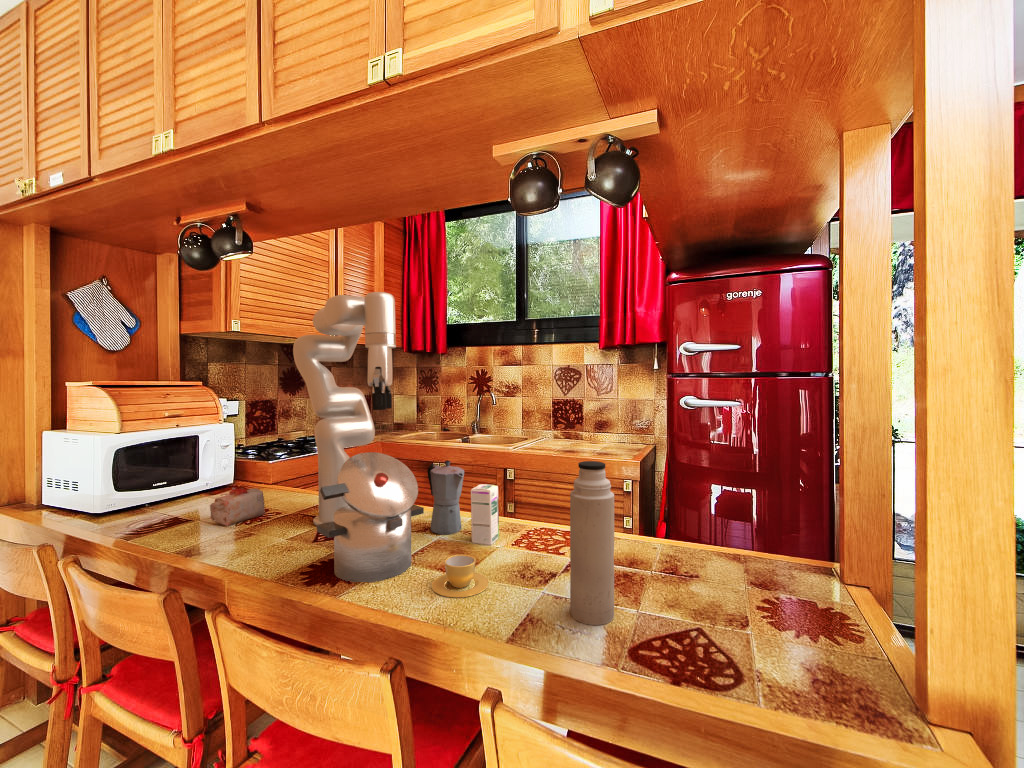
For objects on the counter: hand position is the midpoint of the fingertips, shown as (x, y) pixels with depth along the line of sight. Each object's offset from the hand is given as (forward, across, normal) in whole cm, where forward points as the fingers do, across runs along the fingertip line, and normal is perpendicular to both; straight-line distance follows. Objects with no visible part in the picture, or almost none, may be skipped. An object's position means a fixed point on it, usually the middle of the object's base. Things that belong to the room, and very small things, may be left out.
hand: (382, 409), depth 117 cm
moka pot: (+36, -14, +14) cm, 41 cm away
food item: (+34, -31, -49) cm, 67 cm away
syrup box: (+36, -3, +25) cm, 44 cm away
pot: (+36, +10, -1) cm, 37 cm away
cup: (+37, +22, +18) cm, 47 cm away
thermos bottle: (+38, +37, +42) cm, 68 cm away
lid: (+17, +14, -1) cm, 22 cm away
